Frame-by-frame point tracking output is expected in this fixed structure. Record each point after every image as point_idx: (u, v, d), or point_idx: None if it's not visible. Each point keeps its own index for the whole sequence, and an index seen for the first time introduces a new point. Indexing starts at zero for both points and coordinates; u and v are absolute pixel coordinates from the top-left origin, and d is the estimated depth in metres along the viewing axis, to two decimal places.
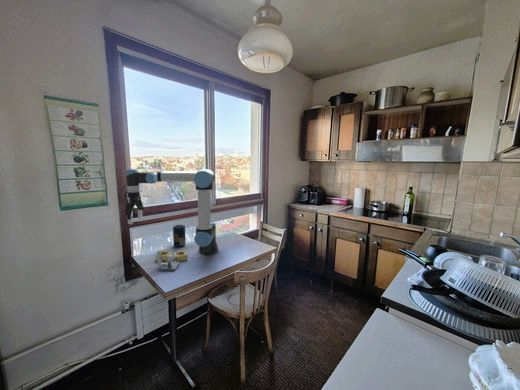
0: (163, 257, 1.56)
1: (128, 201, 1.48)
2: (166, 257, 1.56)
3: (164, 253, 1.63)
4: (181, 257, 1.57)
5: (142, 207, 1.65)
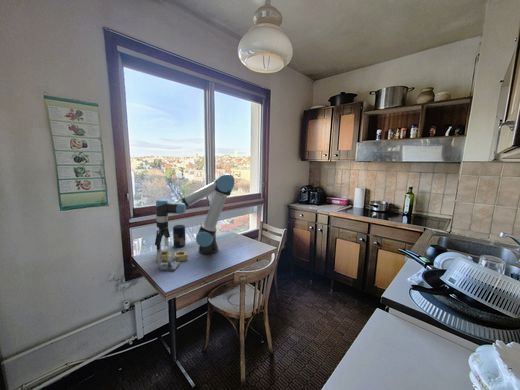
0: (163, 257, 1.56)
1: (158, 232, 1.50)
2: (166, 257, 1.56)
3: (164, 253, 1.63)
4: (181, 257, 1.57)
5: (168, 235, 1.67)
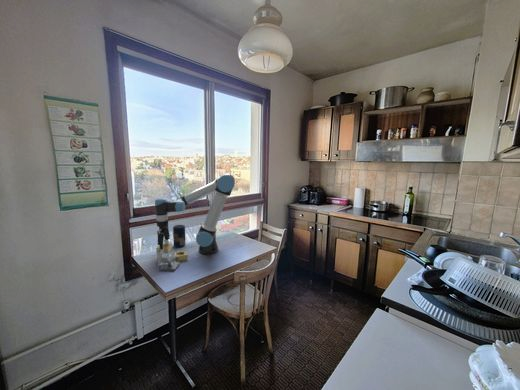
0: None
1: (158, 232, 1.51)
2: (166, 249, 1.56)
3: (164, 246, 1.62)
4: (181, 257, 1.57)
5: (168, 236, 1.65)
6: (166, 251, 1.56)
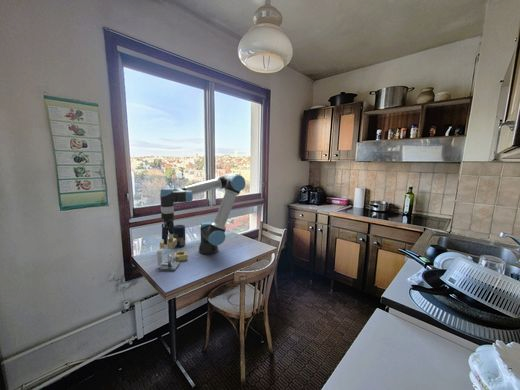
0: None
1: (163, 225, 1.37)
2: (171, 244, 1.41)
3: (168, 241, 1.48)
4: (181, 257, 1.57)
5: (173, 231, 1.51)
6: (170, 246, 1.42)
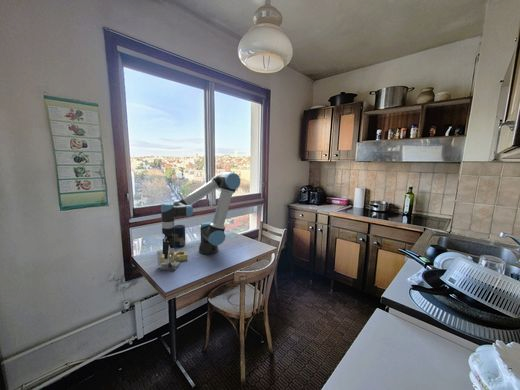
0: None
1: (164, 240, 1.38)
2: (171, 259, 1.43)
3: (169, 254, 1.49)
4: (181, 257, 1.57)
5: (174, 244, 1.52)
6: (171, 261, 1.43)
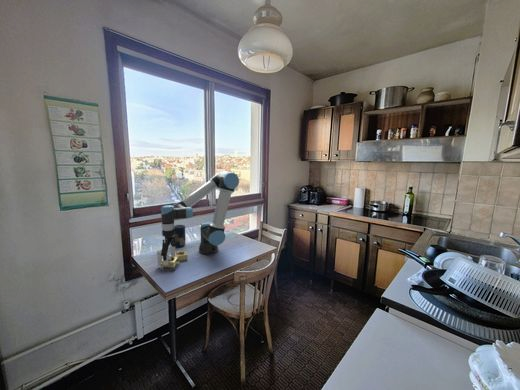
0: (169, 263, 1.43)
1: (164, 241, 1.38)
2: (172, 264, 1.44)
3: None
4: (181, 257, 1.57)
5: (175, 243, 1.55)
6: (171, 265, 1.44)
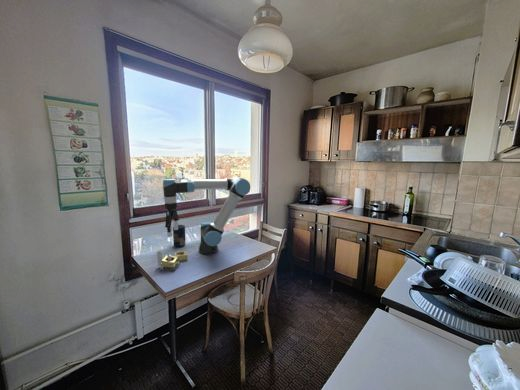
0: (169, 263, 1.43)
1: (167, 213, 1.41)
2: (172, 264, 1.44)
3: None
4: (181, 257, 1.57)
5: (177, 218, 1.58)
6: (171, 265, 1.44)
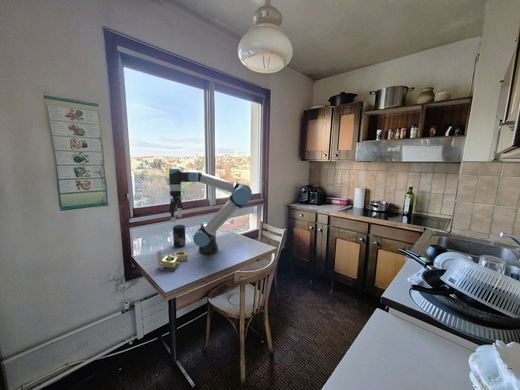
0: (169, 263, 1.43)
1: (172, 199, 1.50)
2: (172, 264, 1.44)
3: None
4: (181, 257, 1.57)
5: (181, 205, 1.67)
6: (171, 265, 1.44)
